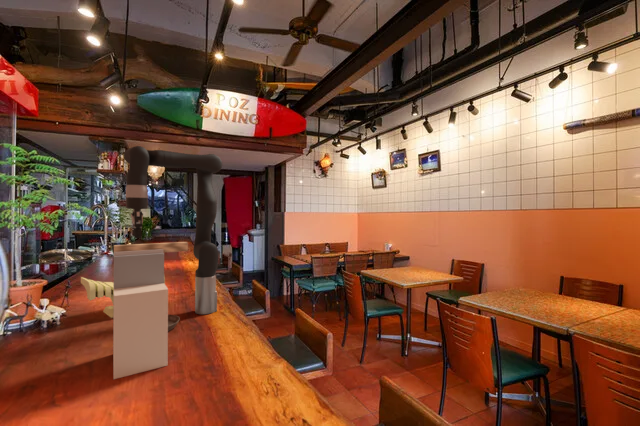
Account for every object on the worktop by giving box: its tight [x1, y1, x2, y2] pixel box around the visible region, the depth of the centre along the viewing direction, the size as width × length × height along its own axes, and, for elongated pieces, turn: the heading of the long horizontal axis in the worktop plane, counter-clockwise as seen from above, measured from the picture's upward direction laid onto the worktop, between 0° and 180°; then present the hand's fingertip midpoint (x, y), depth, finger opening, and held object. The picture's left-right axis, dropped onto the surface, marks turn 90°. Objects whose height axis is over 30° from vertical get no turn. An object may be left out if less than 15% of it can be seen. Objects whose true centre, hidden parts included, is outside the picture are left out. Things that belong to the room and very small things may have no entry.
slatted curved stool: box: [80, 275, 166, 319], centre depth 142 cm, size 30×16×18 cm, turn 140°
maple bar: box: [113, 241, 189, 253], centre depth 103 cm, size 22×3×3 cm, turn 125°
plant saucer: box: [168, 314, 181, 332], centre depth 123 cm, size 18×18×3 cm
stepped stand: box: [112, 249, 169, 380], centre depth 97 cm, size 14×18×35 cm
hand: (137, 237), depth 121 cm, fingers open, 8 cm apart
